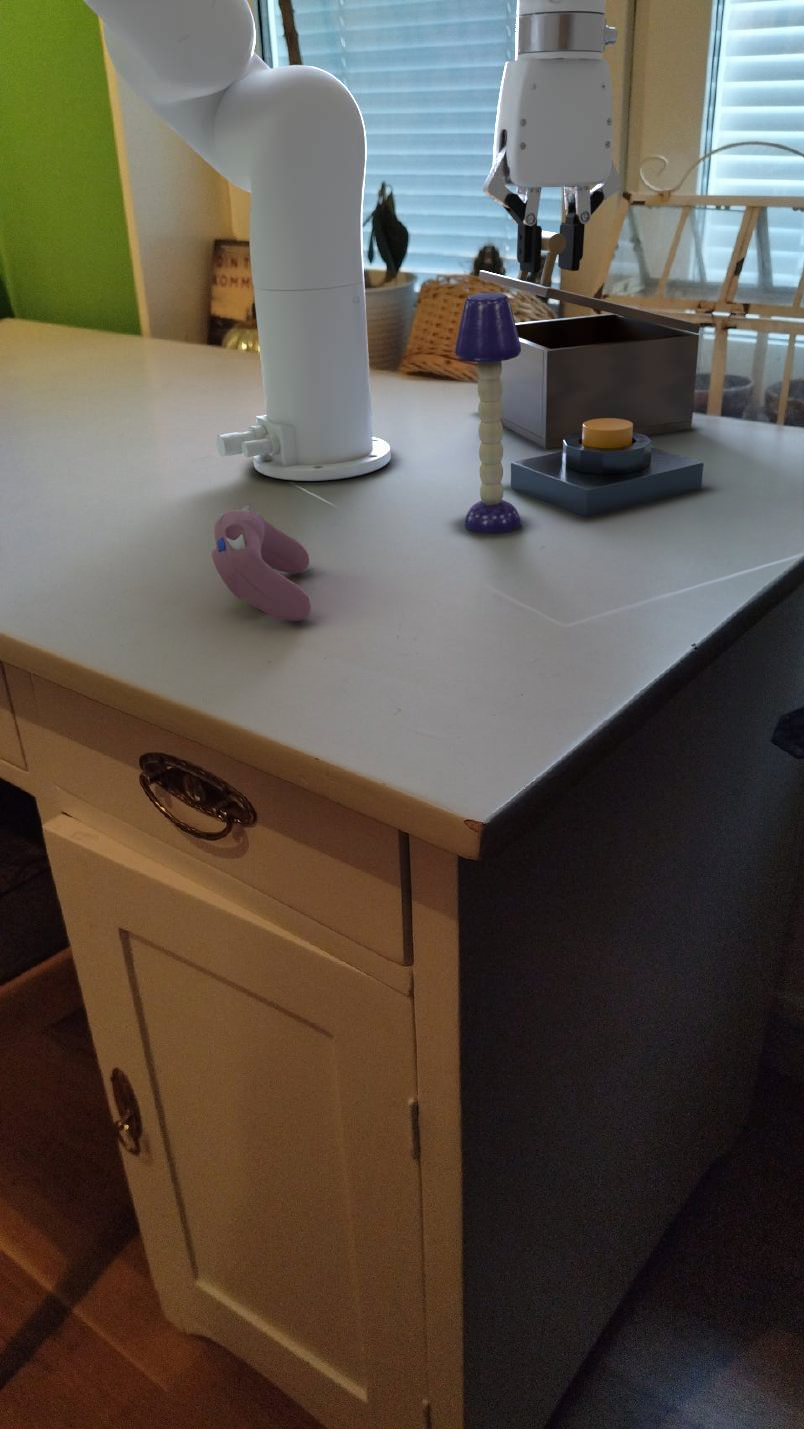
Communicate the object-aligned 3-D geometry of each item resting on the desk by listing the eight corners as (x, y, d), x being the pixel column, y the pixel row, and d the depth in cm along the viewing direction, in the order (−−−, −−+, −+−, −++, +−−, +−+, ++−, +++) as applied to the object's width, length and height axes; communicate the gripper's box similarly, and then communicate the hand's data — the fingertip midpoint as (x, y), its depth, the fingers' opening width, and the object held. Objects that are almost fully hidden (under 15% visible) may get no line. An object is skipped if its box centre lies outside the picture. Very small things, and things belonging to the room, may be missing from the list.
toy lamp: (516, 537, 81) (517, 299, 74) (454, 536, 82) (449, 300, 74) (523, 517, 86) (525, 289, 78) (463, 515, 87) (460, 290, 79)
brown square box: (545, 448, 103) (547, 351, 99) (481, 414, 116) (480, 326, 112) (691, 429, 107) (699, 334, 103) (614, 397, 120) (618, 312, 116)
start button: (603, 455, 87) (604, 432, 86) (571, 444, 90) (572, 423, 89) (642, 446, 89) (643, 424, 88) (609, 436, 92) (610, 415, 91)
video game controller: (259, 592, 78) (204, 510, 75) (315, 560, 77) (261, 476, 74) (255, 650, 69) (191, 560, 66) (317, 615, 69) (256, 523, 65)
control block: (586, 518, 85) (588, 467, 83) (510, 488, 92) (510, 440, 90) (701, 489, 90) (706, 440, 88) (620, 463, 98) (623, 417, 96)
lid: (545, 297, 96) (562, 231, 94) (478, 278, 109) (491, 220, 107) (698, 334, 103) (717, 273, 101) (617, 312, 116) (632, 258, 114)
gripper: (623, 46, 100) (608, 263, 109) (454, 44, 96) (452, 271, 104) (666, 39, 94) (647, 270, 103) (488, 37, 89) (483, 279, 98)
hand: (549, 268), depth 103 cm, fingers open, 3 cm apart
